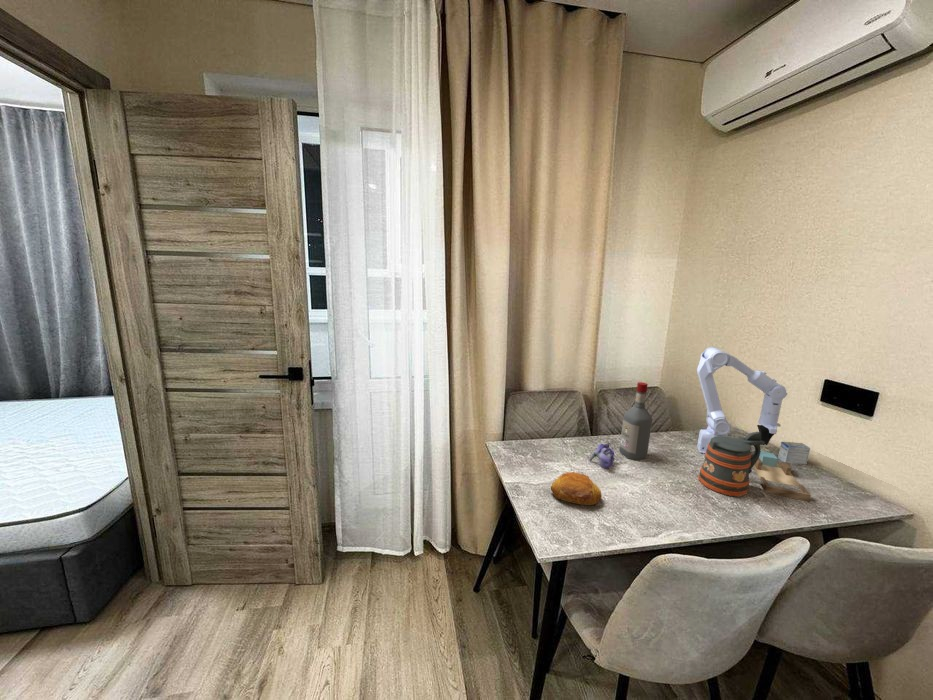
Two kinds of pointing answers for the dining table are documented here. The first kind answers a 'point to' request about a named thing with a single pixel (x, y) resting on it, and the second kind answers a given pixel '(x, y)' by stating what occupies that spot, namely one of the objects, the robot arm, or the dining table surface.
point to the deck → (780, 480)
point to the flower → (604, 456)
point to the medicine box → (794, 453)
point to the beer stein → (730, 463)
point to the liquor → (636, 427)
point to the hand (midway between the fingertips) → (763, 443)
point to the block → (768, 459)
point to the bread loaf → (576, 489)
